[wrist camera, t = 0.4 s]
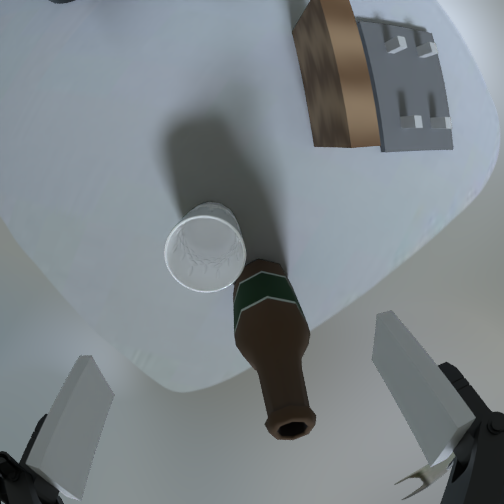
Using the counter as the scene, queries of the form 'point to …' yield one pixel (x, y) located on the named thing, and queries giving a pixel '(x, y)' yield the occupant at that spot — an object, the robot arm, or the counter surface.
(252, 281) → the beer bottle
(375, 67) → the board
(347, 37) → the brown wooden board
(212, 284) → the white cup
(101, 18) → the counter surface
